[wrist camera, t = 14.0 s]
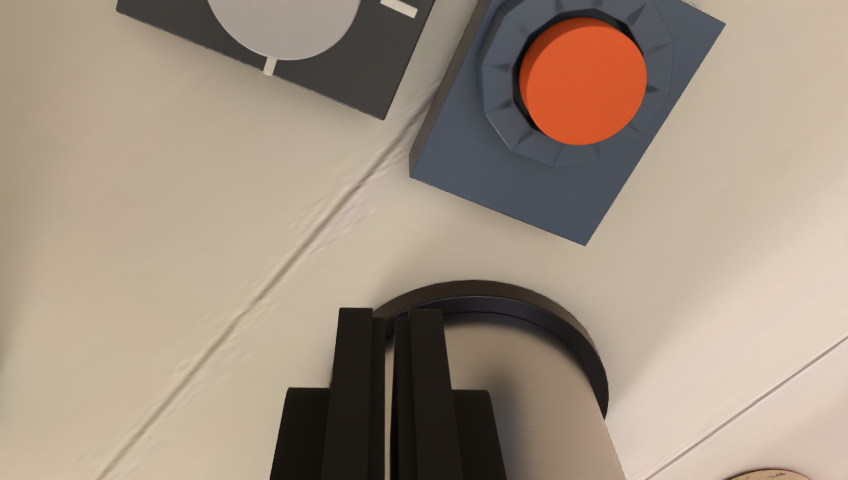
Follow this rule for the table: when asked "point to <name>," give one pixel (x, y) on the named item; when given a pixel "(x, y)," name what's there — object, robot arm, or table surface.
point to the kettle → (520, 376)
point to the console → (324, 73)
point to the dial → (286, 24)
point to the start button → (582, 80)
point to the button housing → (516, 130)
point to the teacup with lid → (771, 475)
